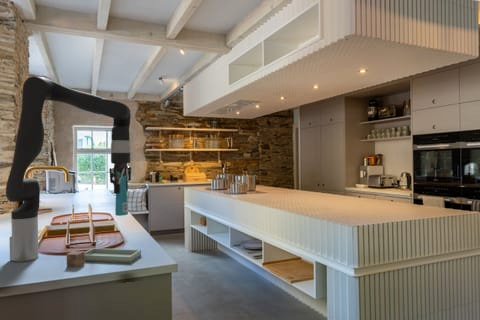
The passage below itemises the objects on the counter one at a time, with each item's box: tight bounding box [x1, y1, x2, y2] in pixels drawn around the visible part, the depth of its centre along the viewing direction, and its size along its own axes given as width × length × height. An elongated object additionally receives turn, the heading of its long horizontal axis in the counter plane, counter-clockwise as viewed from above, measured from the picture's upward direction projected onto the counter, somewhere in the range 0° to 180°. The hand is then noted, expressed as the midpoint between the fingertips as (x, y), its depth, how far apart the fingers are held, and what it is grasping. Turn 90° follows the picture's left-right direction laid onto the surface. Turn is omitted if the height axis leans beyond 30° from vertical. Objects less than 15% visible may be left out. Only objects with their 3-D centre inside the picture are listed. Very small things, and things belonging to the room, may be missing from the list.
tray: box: [84, 247, 142, 264], centre depth 141 cm, size 22×10×2 cm, turn 82°
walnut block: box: [66, 250, 86, 268], centre depth 132 cm, size 4×4×5 cm
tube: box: [114, 171, 129, 217], centre depth 140 cm, size 7×5×19 cm, turn 6°
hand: (121, 192), depth 140 cm, fingers closed on tube, 6 cm apart
